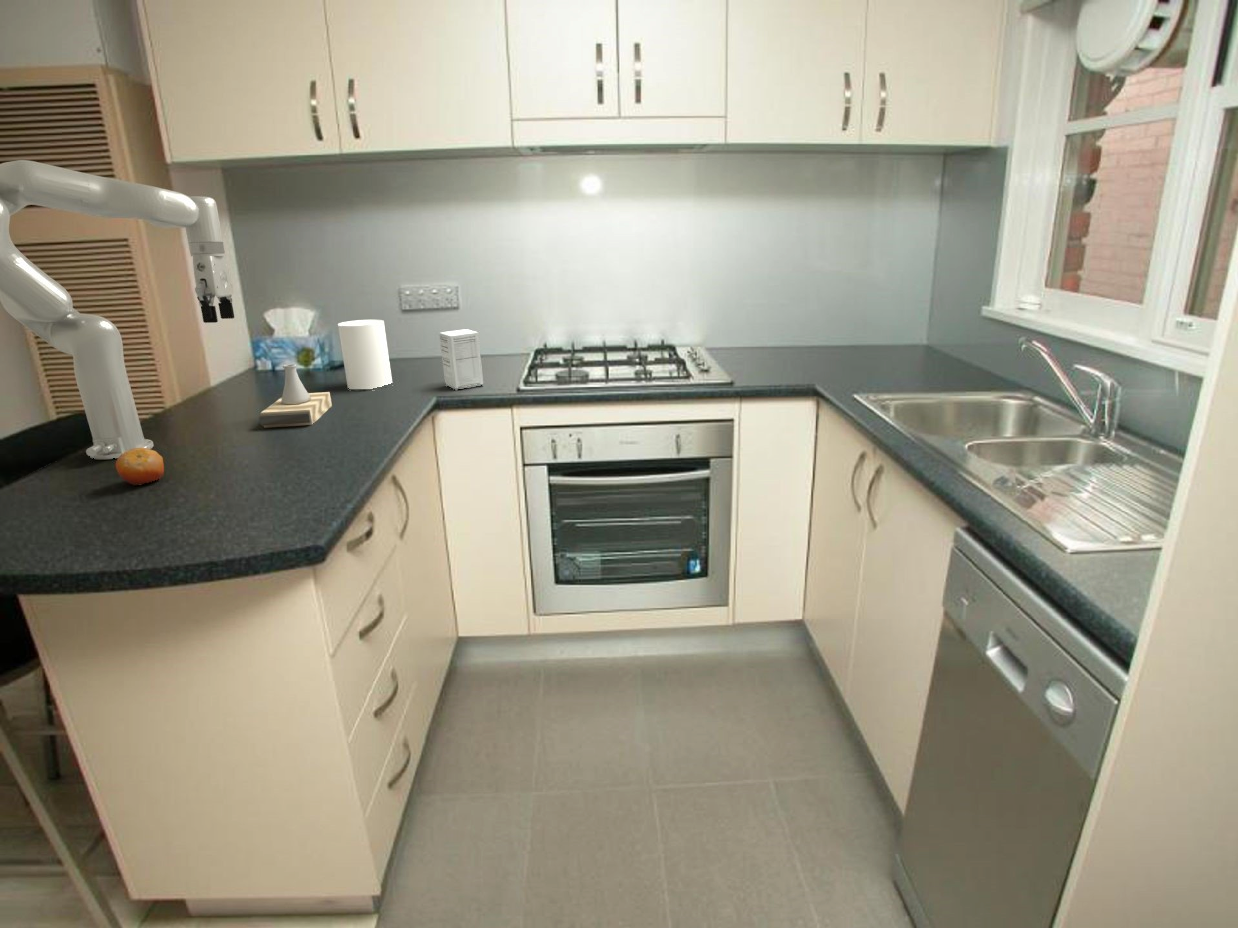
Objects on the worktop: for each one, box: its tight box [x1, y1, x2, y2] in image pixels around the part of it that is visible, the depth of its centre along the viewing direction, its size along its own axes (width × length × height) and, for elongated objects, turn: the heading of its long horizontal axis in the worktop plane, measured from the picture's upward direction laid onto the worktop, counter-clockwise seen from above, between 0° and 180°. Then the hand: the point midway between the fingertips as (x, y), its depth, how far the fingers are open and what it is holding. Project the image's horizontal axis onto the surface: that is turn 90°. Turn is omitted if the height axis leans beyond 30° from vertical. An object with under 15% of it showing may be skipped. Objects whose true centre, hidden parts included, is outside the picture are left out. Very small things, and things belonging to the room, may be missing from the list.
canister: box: [337, 319, 393, 390], centre depth 222 cm, size 14×14×20 cm
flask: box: [281, 363, 311, 404], centre depth 189 cm, size 7×7×10 cm
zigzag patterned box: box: [258, 391, 333, 429], centre depth 191 cm, size 22×12×4 cm, turn 7°
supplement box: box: [438, 328, 484, 388], centre depth 218 cm, size 10×9×17 cm
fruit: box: [115, 447, 165, 486], centre depth 144 cm, size 8×8×8 cm
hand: (219, 320), depth 180 cm, fingers open, 9 cm apart
